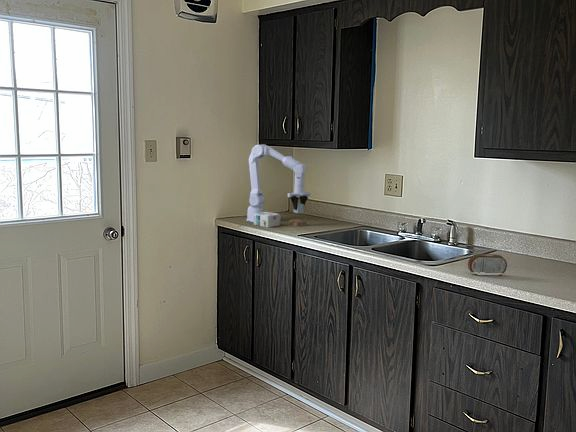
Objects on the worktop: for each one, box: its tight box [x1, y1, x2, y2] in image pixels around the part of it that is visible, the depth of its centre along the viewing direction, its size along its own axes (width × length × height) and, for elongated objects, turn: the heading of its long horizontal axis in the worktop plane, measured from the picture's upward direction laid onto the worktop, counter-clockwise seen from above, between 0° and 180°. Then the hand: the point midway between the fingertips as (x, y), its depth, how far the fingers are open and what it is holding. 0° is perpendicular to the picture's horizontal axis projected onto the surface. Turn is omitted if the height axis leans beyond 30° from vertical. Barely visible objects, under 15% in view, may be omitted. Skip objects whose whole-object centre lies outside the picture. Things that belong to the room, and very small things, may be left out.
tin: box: [467, 253, 508, 274], centre depth 237 cm, size 15×3×8 cm, turn 93°
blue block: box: [293, 202, 305, 214], centre depth 337 cm, size 4×4×5 cm
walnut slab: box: [288, 218, 308, 227], centre depth 339 cm, size 7×7×3 cm
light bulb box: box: [253, 211, 281, 229], centre depth 334 cm, size 11×7×11 cm
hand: (298, 209), depth 337 cm, fingers closed on blue block, 4 cm apart
